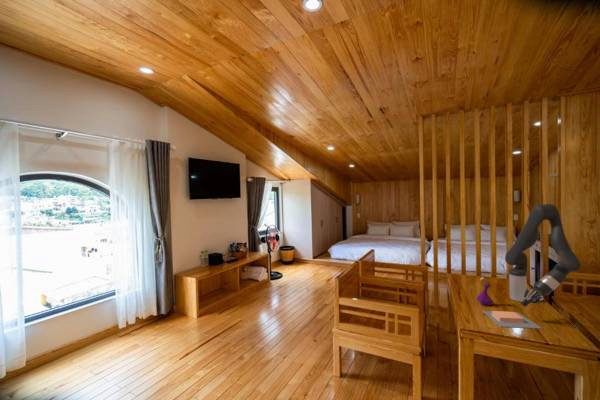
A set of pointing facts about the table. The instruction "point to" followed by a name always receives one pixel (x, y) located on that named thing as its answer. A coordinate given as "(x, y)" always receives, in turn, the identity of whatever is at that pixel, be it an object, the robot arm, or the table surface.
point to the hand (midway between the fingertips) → (522, 305)
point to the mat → (526, 323)
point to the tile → (507, 317)
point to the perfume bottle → (485, 295)
